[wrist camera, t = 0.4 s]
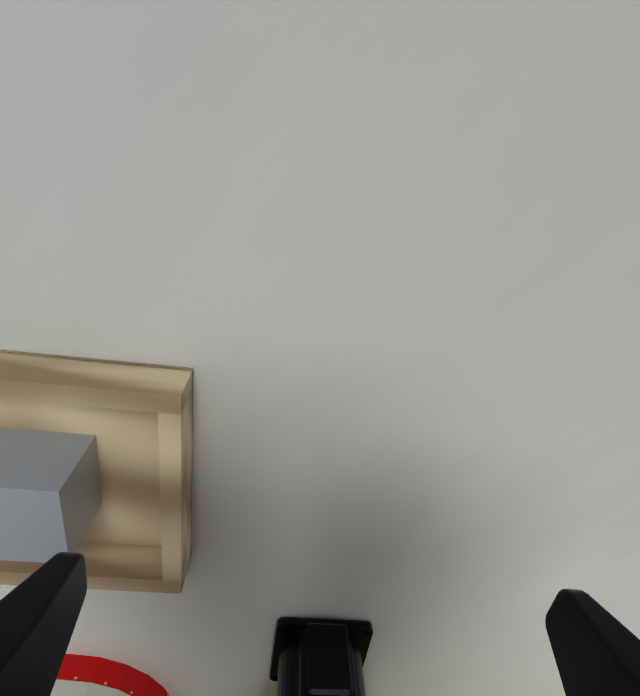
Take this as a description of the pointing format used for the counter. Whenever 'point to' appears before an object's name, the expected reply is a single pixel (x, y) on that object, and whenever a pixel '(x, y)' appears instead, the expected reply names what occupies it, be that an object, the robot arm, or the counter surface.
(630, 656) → the robot arm
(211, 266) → the counter surface
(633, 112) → the counter surface
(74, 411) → the oak tray
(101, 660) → the kitchen timer
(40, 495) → the grey cube
